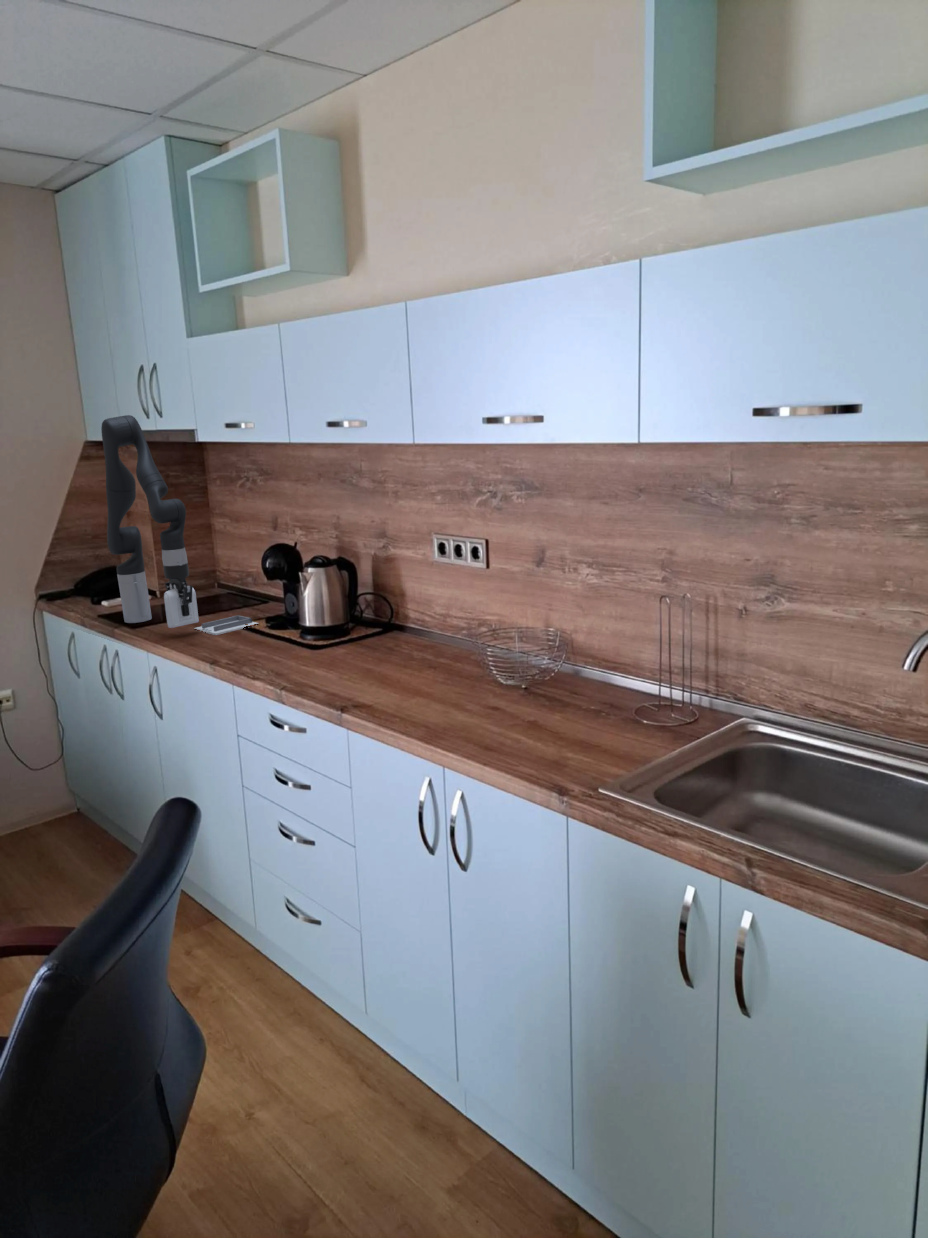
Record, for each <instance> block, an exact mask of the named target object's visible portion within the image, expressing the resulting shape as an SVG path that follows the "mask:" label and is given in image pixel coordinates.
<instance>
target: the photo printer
mask: <svg viewBox="0 0 928 1238" xmlns="http://www.w3.org/2000/svg"><path fill="white" fill-rule="evenodd" d="M180 595H183V594H180ZM188 599H189V597H188ZM163 601H164V610H165V616H166V624H167V627H168V628H170V629H173V628H178V627H182V626H187V625H192V624H197V623H199V621H200V620H199V619H200V617H199V613H198V612H199V611H198V610H199V609H198V603H197V601H198V600H197V593H196V590H195V589H194V587H192V603H189V604H188V606H189V616H182V610H181V603H180V599H179V598H178V594H177V592H176V590H175V589H174V588H173V589H171V590H168V591H167V590H166V591H165V592H164V593H163Z"/></svg>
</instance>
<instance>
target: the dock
mask: <svg viewBox="0 0 928 1238" xmlns="http://www.w3.org/2000/svg"><path fill="white" fill-rule="evenodd" d="M245 624H248V625H245ZM254 624H259V622H254V621H253V618H251V617H249V616H243V615H233V616H229V617H224V618H220V619H217V620H211V621H207V622H203V623H201V626H197V627H194V628H193V630H194V629H197V630H200V631H199V632H201V631H203V632H202V633H205V632H206V633H205V634H209V635H213V636H219V635H222V634H227V633H231V632H235V631H239V630H243V628H244V627H246V626H250V625H254ZM259 625H260V624H259ZM244 629H245V628H244ZM197 630H196V631H197Z"/></svg>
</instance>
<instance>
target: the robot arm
mask: <svg viewBox="0 0 928 1238" xmlns="http://www.w3.org/2000/svg"><path fill="white" fill-rule="evenodd" d="M100 428H101V439H102V446H103V454H104V463H105V465H104V466H105V491H106V492H105V493H106V505H107V527H106V530H107V531H106V541H107V542H106V543H107V547H108V548H107V549H108V550H109V553H110V554H112V555H116V556H119V555H127V554H131V556H130V557H129V558H128V559H127V560H124V562H122V563H120V564H118V565H117V566H116V576H117V582H118V588H119V593H120V594H119V595H120V602H121V607H122V614H123V620H124V623H127V624H136V623H143V622H147V621H150V620H152V619H153V617H152V610H151V603H150V596H149V589H148V583H147V577H146V570H145V563H144V562H145V561H144V555H143V554H144V553H143V543H142V536H141V535H142V534H141V532H140V530H139V527H137V526H136V525H131V526H129V525H128V526H122V527H121V524H122V521H123V519H124V517H125V516H126V514H127V513H128V512H129V511H130V509H131V508H132V506H133V504H134V503H135V501H136V497H137V495H136V494H137V492H136V489H137V488H136V479H135V477H134V476H135V475H136V478H137V482H138V483H139V485H140V487H141V488H142V491H143V493H145V496H146V499H147V503H148V504H147V505H148V508H149V513H150V516H151V518H152V519H153V520H154V521H155V522H156V523H158V524H166V523H167V524H168V523H170V525H169V527H168V528H166V529H165V530H162V531H161V532H160V534H159V538H160V546H161V559H162V561H161V562H162V566H163V575H164V579H166V580H168V581H167V582H165V583H164V587H165V590H166V592H167V591H168V590H171V589H173V588H174V589H175V590H176V592H177V594H178V598H179V599H180V603H181V610H182V616H189V606H188V604H189V603H192V588H193V586H192V585H188V582H187V578H188V577H189V576H190V569H189V563H188V555H187V551H186V545H185V540H184V531H185V523H186V516H187V509H186V505H185V503H184V502H183V501H182V500H181V499H179V498H171V499H162V498H164V497H165V496H166V495H167V494H168V492H169V488H168V485H167V483H166V482H165V479H164V478H163V477H162V476H163V475H162V474H161V472H160V471H159V469H158V467H157V465H156V464H155V461H154V459H153V458H154V457H153V456H152V453H151V450H150V448H149V445H148V442H147V440H146V437H145V434H144V432H143V430H142V428H141V425H140V424H139V421H138V420H137V419H136V417H134V416H133V415H129V414H127V415H120V416H115V417H109V418H106V419H104V420H102V423H101V427H100ZM131 445H133V446H134V447H135V450H136V452H137V459H136V461H137V462H136V468H135V475H133V473H132V472H131V470H129V468H128V467H127V466H126V465H125V464H124V463H123V461H122V460H121V458H120V455H119V448H121V447H126V446H131ZM180 594H183V595H180ZM188 597H189V599H188Z"/></svg>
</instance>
